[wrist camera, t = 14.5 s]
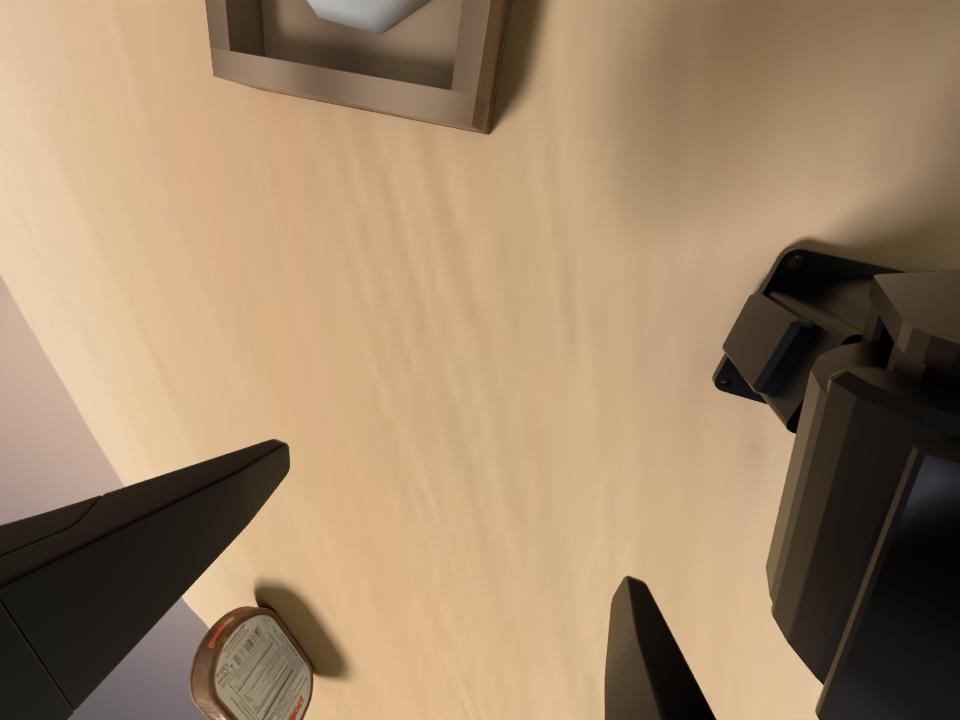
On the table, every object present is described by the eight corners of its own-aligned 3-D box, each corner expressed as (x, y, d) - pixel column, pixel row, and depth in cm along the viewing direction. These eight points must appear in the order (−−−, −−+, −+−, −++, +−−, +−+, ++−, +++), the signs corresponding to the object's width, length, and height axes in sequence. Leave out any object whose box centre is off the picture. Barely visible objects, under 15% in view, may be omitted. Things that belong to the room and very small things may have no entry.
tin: (244, 587, 40) (164, 676, 33) (264, 588, 39) (185, 680, 32) (310, 678, 45) (252, 775, 37) (330, 682, 44) (274, 782, 36)
